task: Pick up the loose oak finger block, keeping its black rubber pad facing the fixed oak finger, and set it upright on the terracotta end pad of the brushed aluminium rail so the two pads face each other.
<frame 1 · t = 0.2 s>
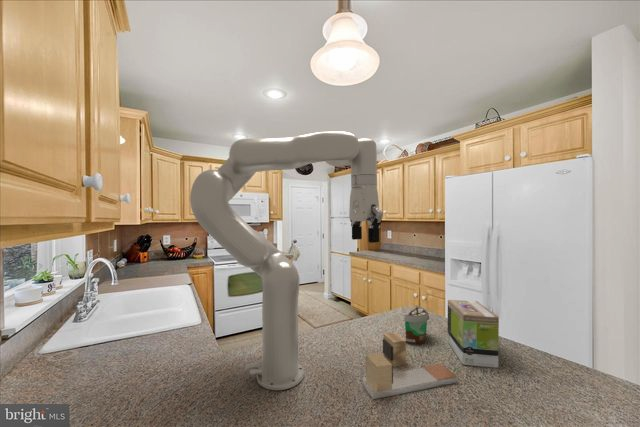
hand: (364, 240, 80), 36 cm above the countertop, tool pointing down, fingers open, 9 cm apart
finger block: (394, 360, 81), on the countertop
tea box: (470, 354, 85), on the countertop
rail: (410, 383, 70), on the countertop
food container: (419, 341, 94), on the countertop
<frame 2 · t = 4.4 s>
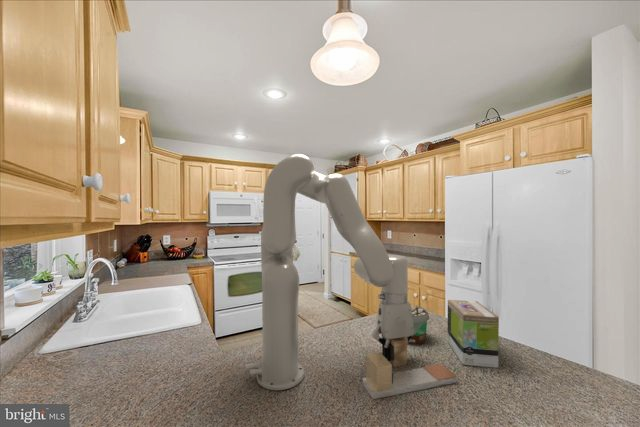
hand: (394, 357, 81), 1 cm above the countertop, tool pointing down, fingers closed on finger block, 4 cm apart
finger block: (395, 360, 82), on the countertop, touching gripper
everything else where it was.
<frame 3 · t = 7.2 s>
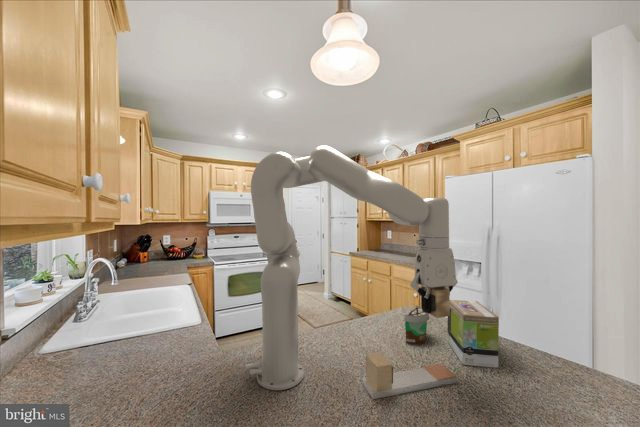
hand: (434, 309, 74), 18 cm above the countertop, tool pointing down, fingers closed on finger block, 4 cm apart
finger block: (435, 312, 74), point 17 cm above the countertop, touching gripper
everything else where it was.
when the fingers open (4 cm above the countertop, at t = 10.0 s): finger block drops 1 cm, resting on rail.
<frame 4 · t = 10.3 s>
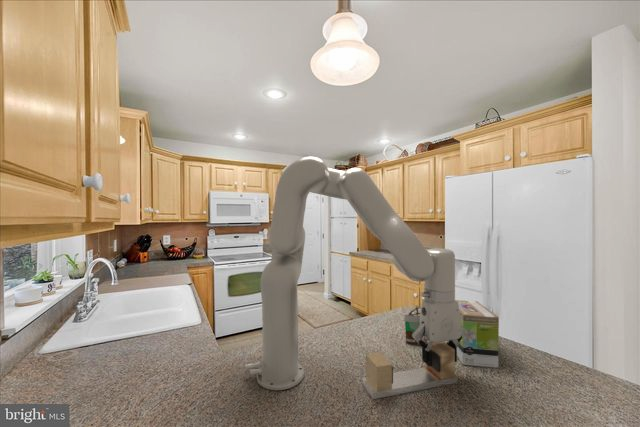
hand: (439, 361, 73), 4 cm above the countertop, tool pointing down, fingers open, 7 cm apart
finger block: (440, 371, 73), point 2 cm above the countertop, touching rail
everything else where it was.
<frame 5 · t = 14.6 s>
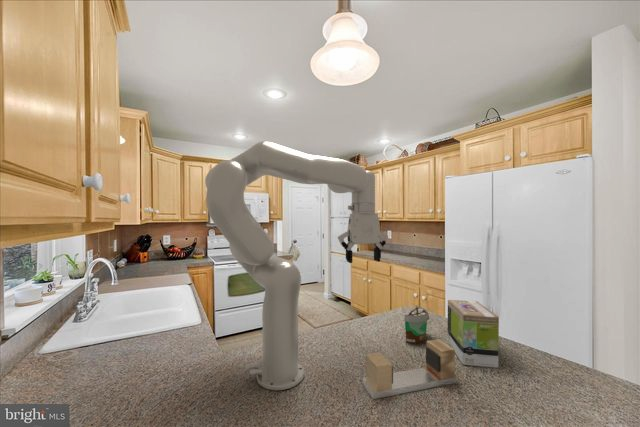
hand: (363, 261, 89), 28 cm above the countertop, tool pointing down, fingers open, 9 cm apart
nothing on the countertop moved.
at the end: finger block 0.2 cm from the target spot on the rail, point 1.7 cm above the rail's base; finger block tilted 0°; the gripper is holding nothing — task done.
